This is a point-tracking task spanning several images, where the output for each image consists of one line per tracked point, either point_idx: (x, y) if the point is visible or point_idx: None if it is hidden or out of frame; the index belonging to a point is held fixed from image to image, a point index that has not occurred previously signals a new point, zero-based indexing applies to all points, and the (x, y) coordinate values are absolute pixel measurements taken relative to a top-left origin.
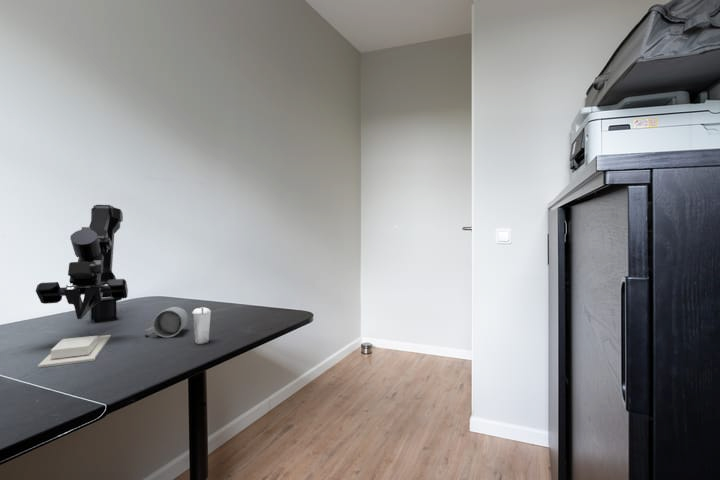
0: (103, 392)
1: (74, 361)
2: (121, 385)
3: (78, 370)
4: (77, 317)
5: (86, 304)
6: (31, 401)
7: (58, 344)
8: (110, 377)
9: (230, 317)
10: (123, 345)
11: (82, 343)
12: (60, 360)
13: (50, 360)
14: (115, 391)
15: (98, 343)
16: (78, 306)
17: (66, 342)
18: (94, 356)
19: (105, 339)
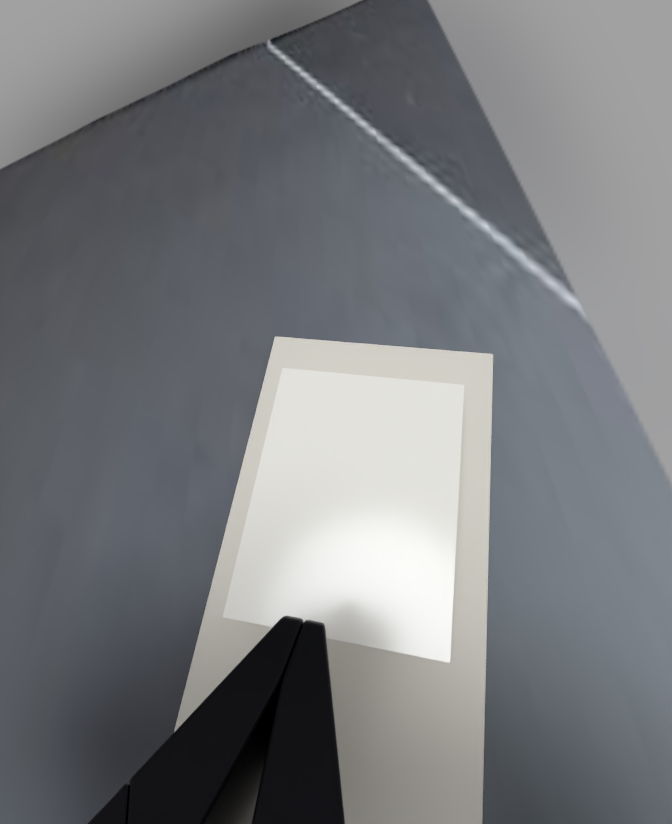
0: (268, 91)
1: (349, 344)
2: (225, 111)
3: (330, 260)
4: (320, 626)
5: (138, 779)
6: (423, 99)
7: (447, 497)
8: (242, 166)
9: None
10: (127, 534)
11: (312, 438)
12: (408, 379)
13: None
14: (243, 88)
15: (237, 629)
16: (276, 776)
17: (406, 524)
18: (272, 363)
19: None
